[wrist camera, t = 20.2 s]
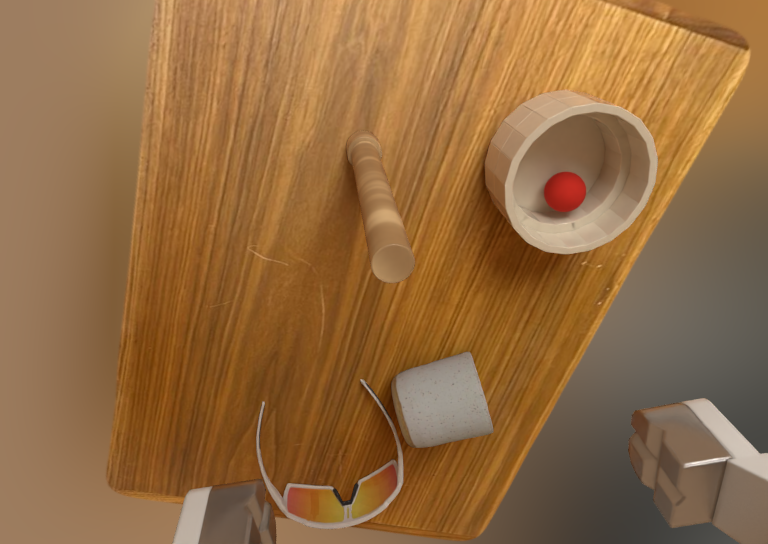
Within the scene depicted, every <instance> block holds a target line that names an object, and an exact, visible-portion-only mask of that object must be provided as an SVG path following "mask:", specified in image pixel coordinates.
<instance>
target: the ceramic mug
mask: <svg viewBox="0 0 768 544" xmlns="http://www.w3.org/2000/svg"><path fill="white" fill-rule="evenodd" d="M391 391H392V397H393V402H394V407H395V411H396V415H397V419H398V422H399V426H400V429H401V432H402V435H403V437H404V439H405V441H406V443H407V444H408V445H409V446H411V447H413V448H422V447H432V446H437V445H441V444H444V443H448V442H453V441H458V440H463V439H468V438H473V437H478V436H483V435H488V434H491V433H493V425H492V422H491V418H490V415H489V411H488V407H487V403H486V399H485V396H484V393H483V390H482V387H481V383H480V380H479V377H478V374H477V371H476V367H475V365H474V361H473V358H472V355H471V353H470V352H464V353H461V354H458V355H455V356H452V357H448V358H444V359H441V360H438V361H435V362H432V363H429V364H426V365H423V366H419V367H415V368H411V369H408V370H406V371H404V372H401V373H399V374H398V375H396V376H395V377H394V378H393V380H392V383H391Z"/></svg>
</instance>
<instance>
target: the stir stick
mask: <svg viewBox="0 0 768 544" xmlns="http://www.w3.org/2000/svg"><path fill="white" fill-rule="evenodd" d="M346 151H347V157H348V160H349V162H350V164H351V165H352V166H353V168H354V174H355V179H356V185H357V190H358V196H359V202H360V207H361V213H362V219H363V224H364V230H365V236H366V241H367V247H368V253H369V258H370V264H371V269H372V272H373V274H374V275H375V276H376V277H377V278H378V279H379V280H381V281H383V282H386V283H397V282H401V281H403V280H405V279H406V278H407V277H409V275H410V274H411V273H412V271H413V269H414V266H415V258H414V255H413V252H412V249H411V246H410V243H409V240H408V238H407V235H406V232H405V229H404V226H403V223H402V220H401V217H400V214H399V211H398V208H397V205H396V203H395V200H394V197H393V194H392V191H391V188H390V185H389V182H388V179H387V176H386V173H385V171H384V168H383V165H382V162H381V158H382V150H381V147H380V144H379V141H378V139H377V138H376V136H375V135H374V134H372V133H371V132H369V131H358V132H355V133H354V134H352V135H351V136H350V137H349V139H348V141H347V144H346Z"/></svg>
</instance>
